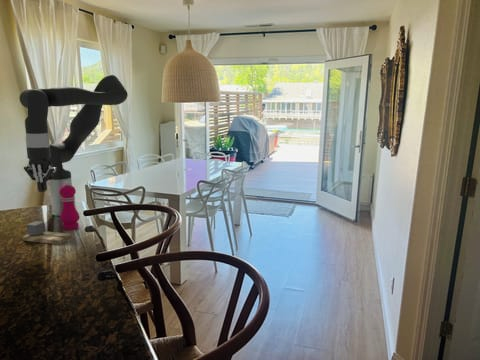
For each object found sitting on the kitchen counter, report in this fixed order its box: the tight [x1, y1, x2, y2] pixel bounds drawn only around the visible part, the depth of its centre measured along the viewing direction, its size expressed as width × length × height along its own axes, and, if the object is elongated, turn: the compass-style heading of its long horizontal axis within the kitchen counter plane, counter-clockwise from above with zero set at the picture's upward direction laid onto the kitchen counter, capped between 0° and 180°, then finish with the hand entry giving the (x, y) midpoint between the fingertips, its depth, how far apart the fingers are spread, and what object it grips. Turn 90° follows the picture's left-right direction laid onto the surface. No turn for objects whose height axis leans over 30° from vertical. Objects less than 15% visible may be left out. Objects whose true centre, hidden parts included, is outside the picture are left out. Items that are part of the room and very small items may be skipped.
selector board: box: [22, 230, 73, 245], centre depth 135 cm, size 16×7×2 cm, turn 78°
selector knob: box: [26, 220, 46, 235], centre depth 135 cm, size 4×4×4 cm
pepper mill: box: [59, 182, 80, 231], centre depth 146 cm, size 7×7×20 cm
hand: (42, 191), depth 132 cm, fingers closed
